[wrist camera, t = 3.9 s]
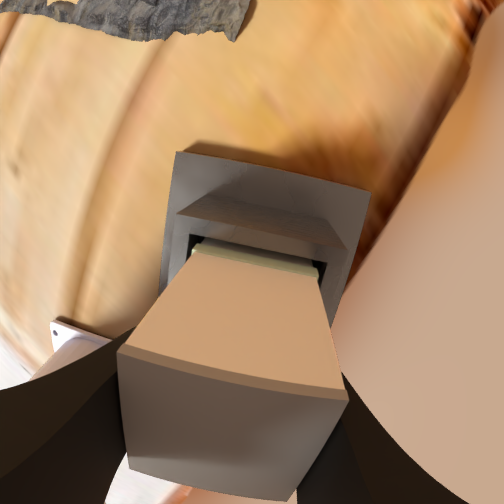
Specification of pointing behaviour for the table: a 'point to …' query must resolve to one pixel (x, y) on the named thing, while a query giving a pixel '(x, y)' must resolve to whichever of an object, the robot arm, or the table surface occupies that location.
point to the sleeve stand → (263, 217)
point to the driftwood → (141, 16)
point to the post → (232, 374)
